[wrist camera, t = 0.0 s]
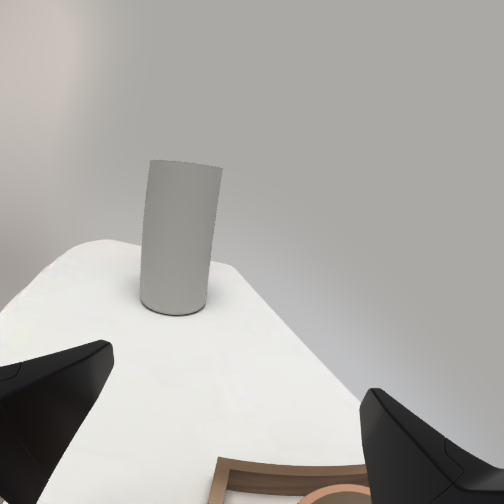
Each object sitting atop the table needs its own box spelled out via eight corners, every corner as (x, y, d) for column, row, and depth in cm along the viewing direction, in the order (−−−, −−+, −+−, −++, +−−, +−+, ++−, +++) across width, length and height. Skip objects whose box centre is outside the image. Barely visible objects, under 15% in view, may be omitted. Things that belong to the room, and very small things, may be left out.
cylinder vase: (128, 306, 44) (137, 158, 39) (156, 283, 57) (167, 164, 51) (194, 323, 44) (212, 164, 38) (212, 296, 56) (229, 170, 50)
